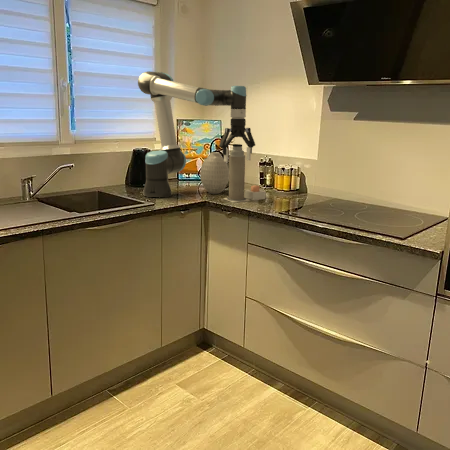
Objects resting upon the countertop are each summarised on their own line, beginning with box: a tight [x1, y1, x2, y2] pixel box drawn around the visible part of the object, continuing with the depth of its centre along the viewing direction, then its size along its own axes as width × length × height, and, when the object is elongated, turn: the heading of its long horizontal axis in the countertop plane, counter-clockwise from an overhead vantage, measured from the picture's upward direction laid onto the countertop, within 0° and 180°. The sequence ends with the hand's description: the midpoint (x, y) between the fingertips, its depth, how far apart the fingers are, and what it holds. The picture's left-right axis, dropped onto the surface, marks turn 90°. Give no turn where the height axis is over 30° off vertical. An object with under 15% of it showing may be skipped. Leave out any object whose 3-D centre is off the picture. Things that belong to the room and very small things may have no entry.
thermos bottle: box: [228, 143, 246, 200], centre depth 239 cm, size 8×8×28 cm
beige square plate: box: [223, 197, 251, 203], centre depth 243 cm, size 10×10×1 cm
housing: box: [244, 189, 267, 201], centre depth 247 cm, size 8×8×4 cm
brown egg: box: [250, 184, 261, 192], centre depth 246 cm, size 4×4×4 cm
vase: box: [199, 151, 229, 195], centre depth 259 cm, size 16×16×22 cm
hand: (237, 160), depth 238 cm, fingers open, 13 cm apart
